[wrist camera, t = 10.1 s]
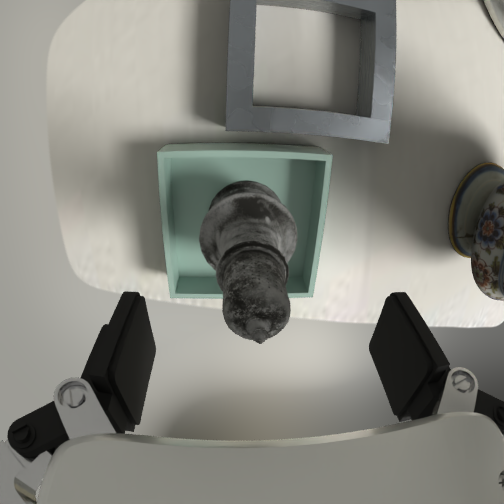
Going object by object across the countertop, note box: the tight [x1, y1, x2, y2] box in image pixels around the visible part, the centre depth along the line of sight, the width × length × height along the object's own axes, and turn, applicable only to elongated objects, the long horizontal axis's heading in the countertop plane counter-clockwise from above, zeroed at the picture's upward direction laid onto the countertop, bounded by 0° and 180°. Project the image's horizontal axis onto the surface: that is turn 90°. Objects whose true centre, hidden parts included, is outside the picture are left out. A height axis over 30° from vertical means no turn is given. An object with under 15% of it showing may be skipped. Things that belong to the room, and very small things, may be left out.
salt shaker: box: [199, 181, 298, 344], centre depth 16 cm, size 6×6×12 cm
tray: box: [157, 143, 333, 299], centre depth 21 cm, size 10×10×3 cm
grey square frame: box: [226, 0, 396, 144], centre depth 16 cm, size 10×10×2 cm
